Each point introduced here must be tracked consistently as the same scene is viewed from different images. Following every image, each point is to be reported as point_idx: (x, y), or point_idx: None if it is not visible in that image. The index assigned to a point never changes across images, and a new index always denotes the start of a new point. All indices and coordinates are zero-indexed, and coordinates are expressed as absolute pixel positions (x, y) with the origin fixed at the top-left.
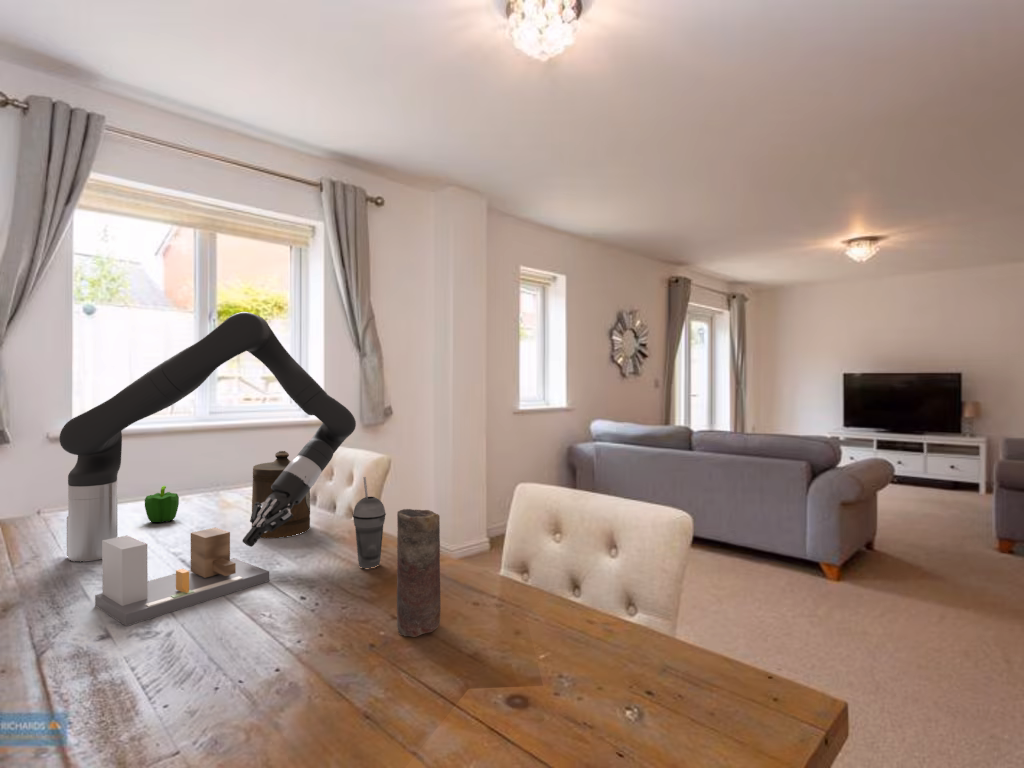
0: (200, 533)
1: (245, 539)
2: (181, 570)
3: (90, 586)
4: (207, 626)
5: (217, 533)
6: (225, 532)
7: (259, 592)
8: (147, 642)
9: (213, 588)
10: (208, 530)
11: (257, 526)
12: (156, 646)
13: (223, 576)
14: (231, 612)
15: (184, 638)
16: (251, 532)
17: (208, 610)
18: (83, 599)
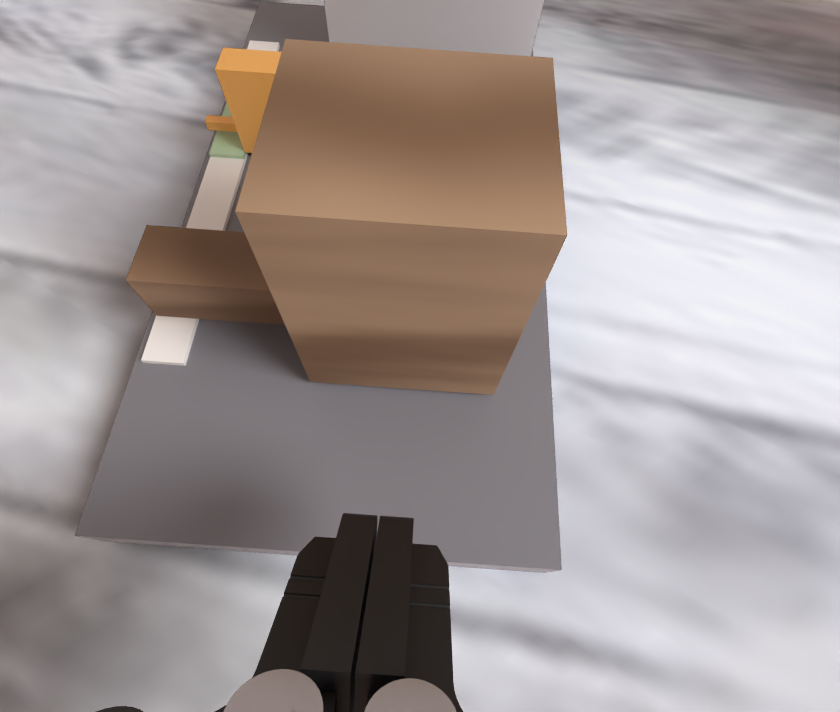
0: (454, 77)
1: (366, 521)
2: (265, 60)
3: (752, 112)
4: (7, 130)
5: (313, 137)
6: (273, 187)
7: (41, 401)
8: (105, 26)
9: (183, 224)
10: (497, 148)
11: (278, 677)
12: (57, 25)
13: (280, 327)
14: (6, 220)
15: (15, 70)
16: (342, 592)
17: (118, 191)
18: (619, 64)
